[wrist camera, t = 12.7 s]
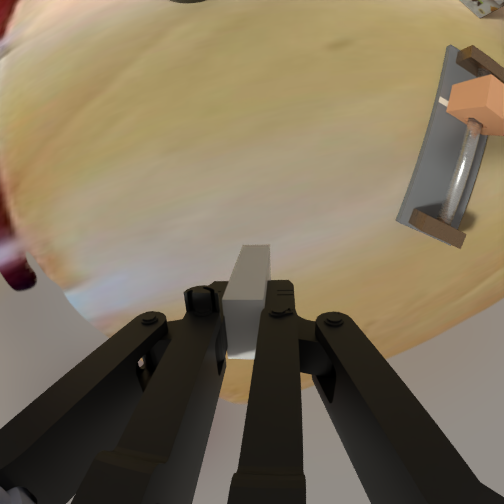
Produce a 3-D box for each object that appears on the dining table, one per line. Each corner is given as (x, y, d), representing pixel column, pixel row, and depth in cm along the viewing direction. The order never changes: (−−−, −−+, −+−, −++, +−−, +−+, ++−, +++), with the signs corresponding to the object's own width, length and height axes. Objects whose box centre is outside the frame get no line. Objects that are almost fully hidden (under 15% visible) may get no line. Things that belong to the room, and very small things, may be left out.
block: (482, 135, 36) (524, 136, 26) (446, 111, 36) (485, 106, 26) (488, 109, 35) (529, 106, 24) (452, 85, 35) (491, 74, 24)
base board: (446, 242, 45) (451, 245, 43) (395, 220, 45) (399, 222, 43) (494, 79, 34) (499, 78, 33) (446, 46, 34) (451, 44, 32)
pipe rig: (445, 239, 43) (460, 249, 38) (408, 222, 43) (421, 230, 38) (492, 76, 33) (508, 72, 28) (457, 51, 33) (472, 45, 28)
